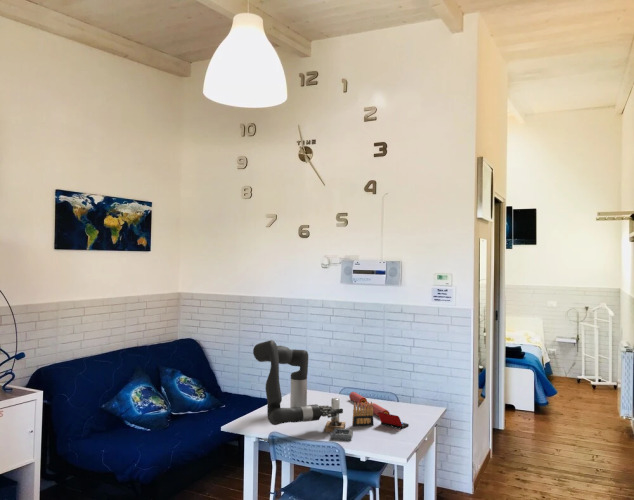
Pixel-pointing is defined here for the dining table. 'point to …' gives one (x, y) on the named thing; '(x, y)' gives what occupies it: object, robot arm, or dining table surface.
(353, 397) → the blood vessel
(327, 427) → the walnut socket block
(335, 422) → the steel axle
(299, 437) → the dining table surface
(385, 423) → the handheld game console
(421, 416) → the dining table surface
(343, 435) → the steel bore block
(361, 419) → the ammunition clip
